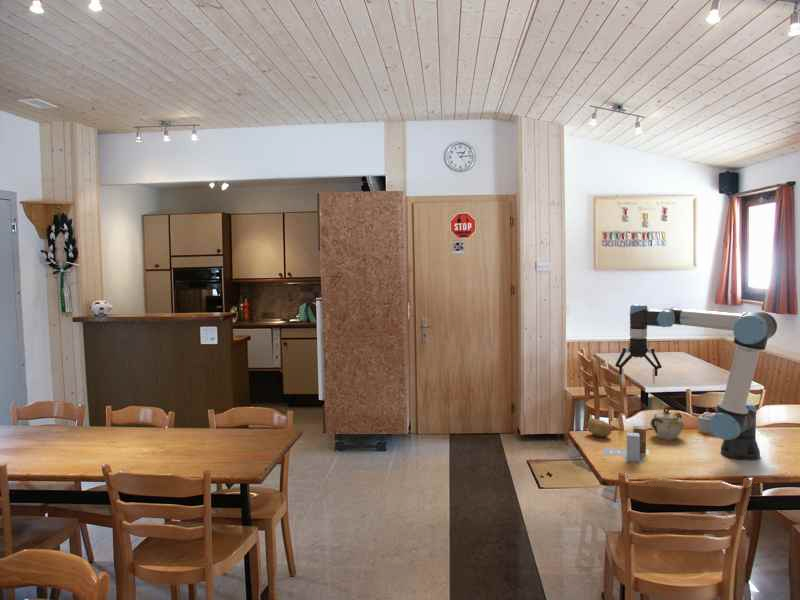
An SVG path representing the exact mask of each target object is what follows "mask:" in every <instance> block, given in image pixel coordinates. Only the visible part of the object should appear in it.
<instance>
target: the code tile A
mask: <svg viewBox="0 0 800 600" xmlns="http://www.w3.org/2000/svg"><path fill="white" fill-rule="evenodd" d="M602 455H606V456H616V457H617V456H619V457H623V456H627V448H626V449H624V448H613V447H612V448H611V447H602Z"/></svg>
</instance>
